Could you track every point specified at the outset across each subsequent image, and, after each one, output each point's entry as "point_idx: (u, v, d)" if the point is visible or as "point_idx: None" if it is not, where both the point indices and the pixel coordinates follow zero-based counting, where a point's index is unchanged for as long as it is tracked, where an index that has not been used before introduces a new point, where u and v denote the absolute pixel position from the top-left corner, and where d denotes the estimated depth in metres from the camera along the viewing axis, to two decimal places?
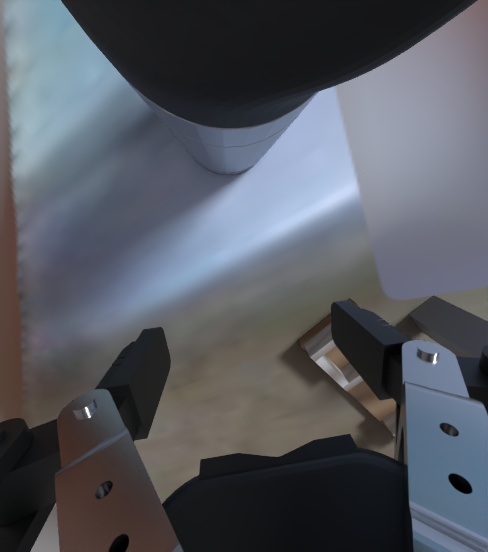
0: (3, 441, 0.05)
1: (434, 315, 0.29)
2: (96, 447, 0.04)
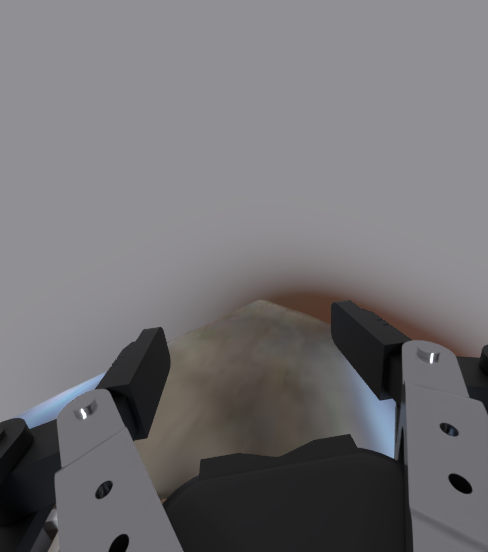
0: (3, 441, 0.05)
1: None
2: (96, 447, 0.04)
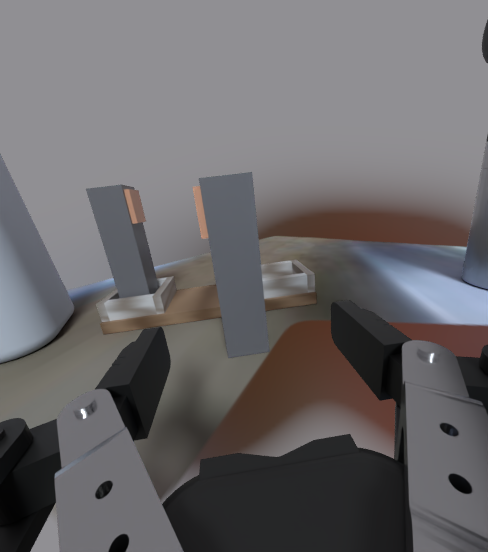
0: (3, 441, 0.05)
1: None
2: (96, 447, 0.04)
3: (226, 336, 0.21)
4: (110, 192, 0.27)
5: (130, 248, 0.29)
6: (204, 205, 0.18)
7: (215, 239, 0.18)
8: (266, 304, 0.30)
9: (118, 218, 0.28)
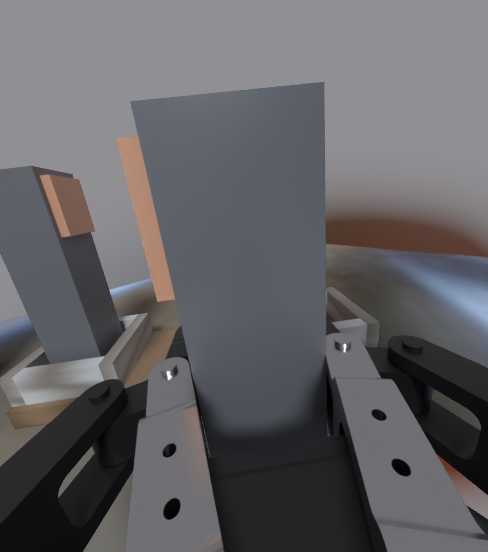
0: (110, 395, 0.06)
1: None
2: (170, 409, 0.05)
3: None
4: (13, 180, 0.14)
5: (59, 279, 0.16)
6: (157, 202, 0.05)
7: (196, 306, 0.06)
8: None
9: (32, 228, 0.15)
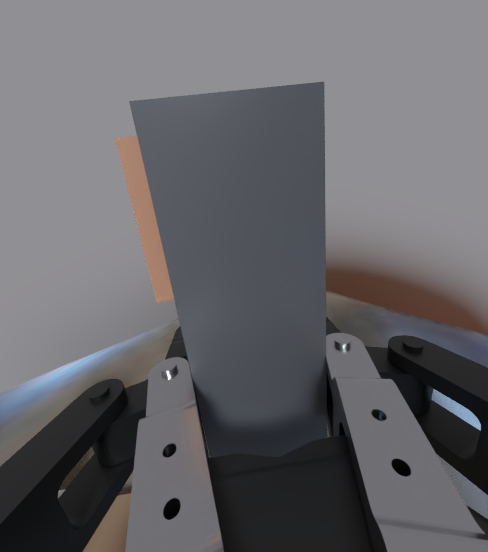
0: (110, 395, 0.06)
1: None
2: (170, 409, 0.05)
3: None
4: None
5: None
6: (156, 202, 0.05)
7: (195, 306, 0.06)
8: None
9: None
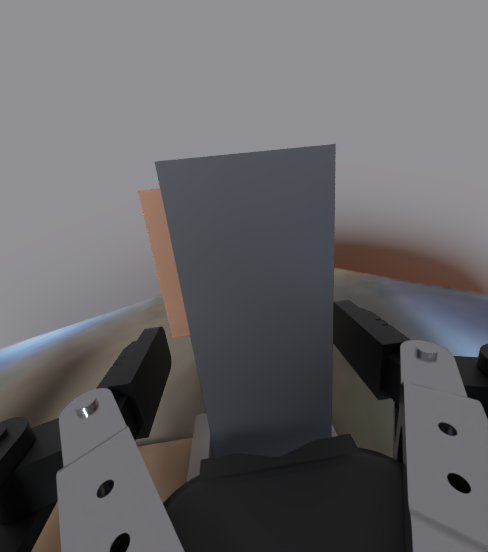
0: (6, 440, 0.05)
1: None
2: (98, 446, 0.04)
3: None
4: None
5: None
6: (177, 250, 0.05)
7: (210, 343, 0.06)
8: None
9: None
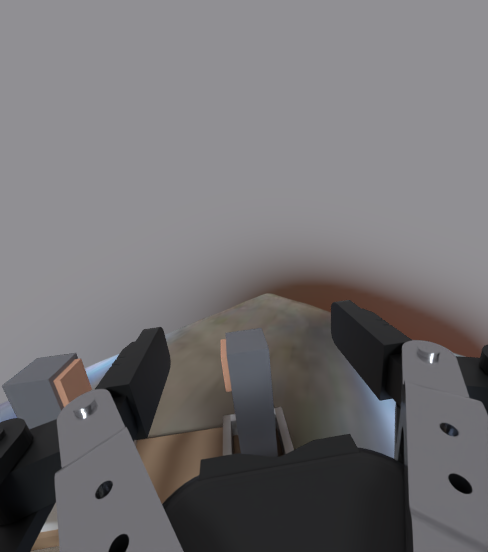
0: (3, 441, 0.05)
1: None
2: (96, 447, 0.04)
3: None
4: (35, 388, 0.21)
5: None
6: (230, 372, 0.22)
7: (237, 394, 0.23)
8: None
9: (46, 413, 0.21)
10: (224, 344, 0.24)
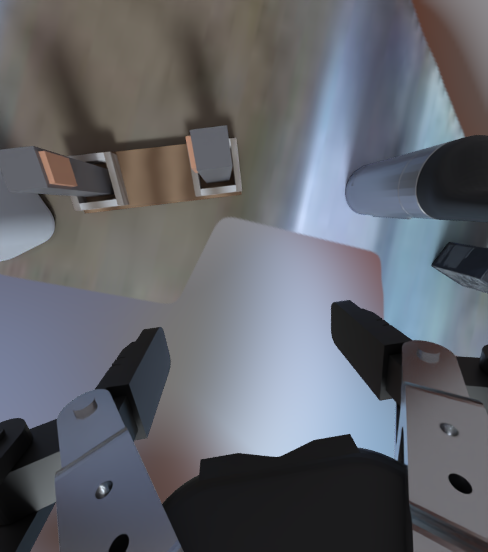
0: (3, 441, 0.05)
1: None
2: (96, 447, 0.04)
3: (207, 182, 0.38)
4: (39, 189, 0.25)
5: (80, 192, 0.32)
6: (199, 172, 0.27)
7: (204, 175, 0.30)
8: (204, 198, 0.42)
9: (58, 190, 0.28)
10: (190, 146, 0.25)
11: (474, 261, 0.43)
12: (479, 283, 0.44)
